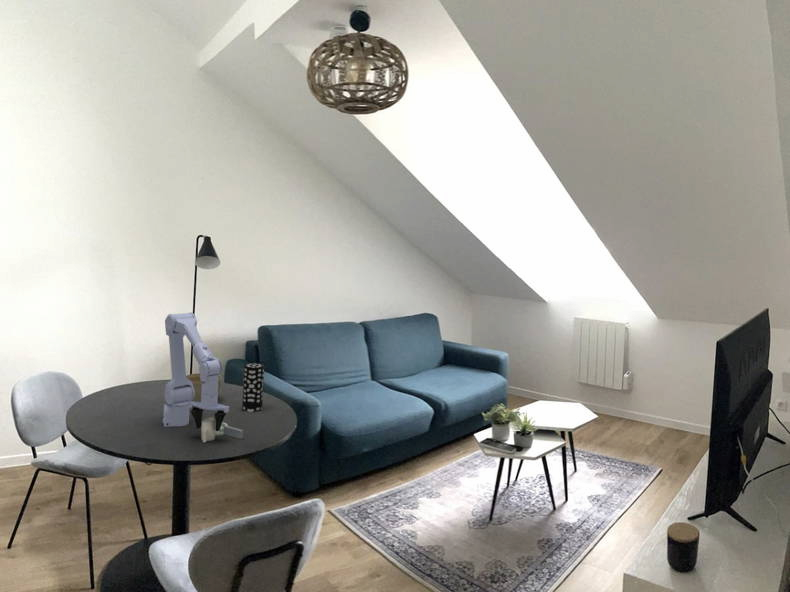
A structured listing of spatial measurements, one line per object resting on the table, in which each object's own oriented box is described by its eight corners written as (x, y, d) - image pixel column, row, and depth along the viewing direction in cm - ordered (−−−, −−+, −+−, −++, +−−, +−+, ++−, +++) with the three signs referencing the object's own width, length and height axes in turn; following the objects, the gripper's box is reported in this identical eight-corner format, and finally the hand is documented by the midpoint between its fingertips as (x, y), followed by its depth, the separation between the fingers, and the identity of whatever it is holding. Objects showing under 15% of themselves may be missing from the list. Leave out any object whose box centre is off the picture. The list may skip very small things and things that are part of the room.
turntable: (203, 427, 218) (203, 420, 218) (240, 426, 223) (240, 418, 222) (203, 440, 205) (204, 432, 205) (242, 438, 210) (243, 431, 210)
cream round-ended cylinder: (204, 434, 211) (205, 416, 210) (217, 435, 211) (218, 417, 210) (197, 442, 204) (197, 423, 203) (210, 443, 204) (211, 424, 203)
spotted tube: (266, 411, 245) (268, 366, 242) (249, 415, 239) (251, 368, 236) (254, 406, 250) (256, 362, 248) (238, 410, 244) (240, 364, 242)
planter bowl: (200, 409, 241) (201, 384, 240) (174, 401, 249) (175, 377, 248) (228, 401, 255) (229, 377, 254) (203, 394, 263) (204, 371, 262)
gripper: (233, 392, 209) (232, 428, 210) (196, 387, 211) (195, 422, 213) (224, 397, 202) (222, 434, 204) (186, 392, 204) (185, 429, 206)
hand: (208, 429), depth 208 cm, fingers open, 7 cm apart
